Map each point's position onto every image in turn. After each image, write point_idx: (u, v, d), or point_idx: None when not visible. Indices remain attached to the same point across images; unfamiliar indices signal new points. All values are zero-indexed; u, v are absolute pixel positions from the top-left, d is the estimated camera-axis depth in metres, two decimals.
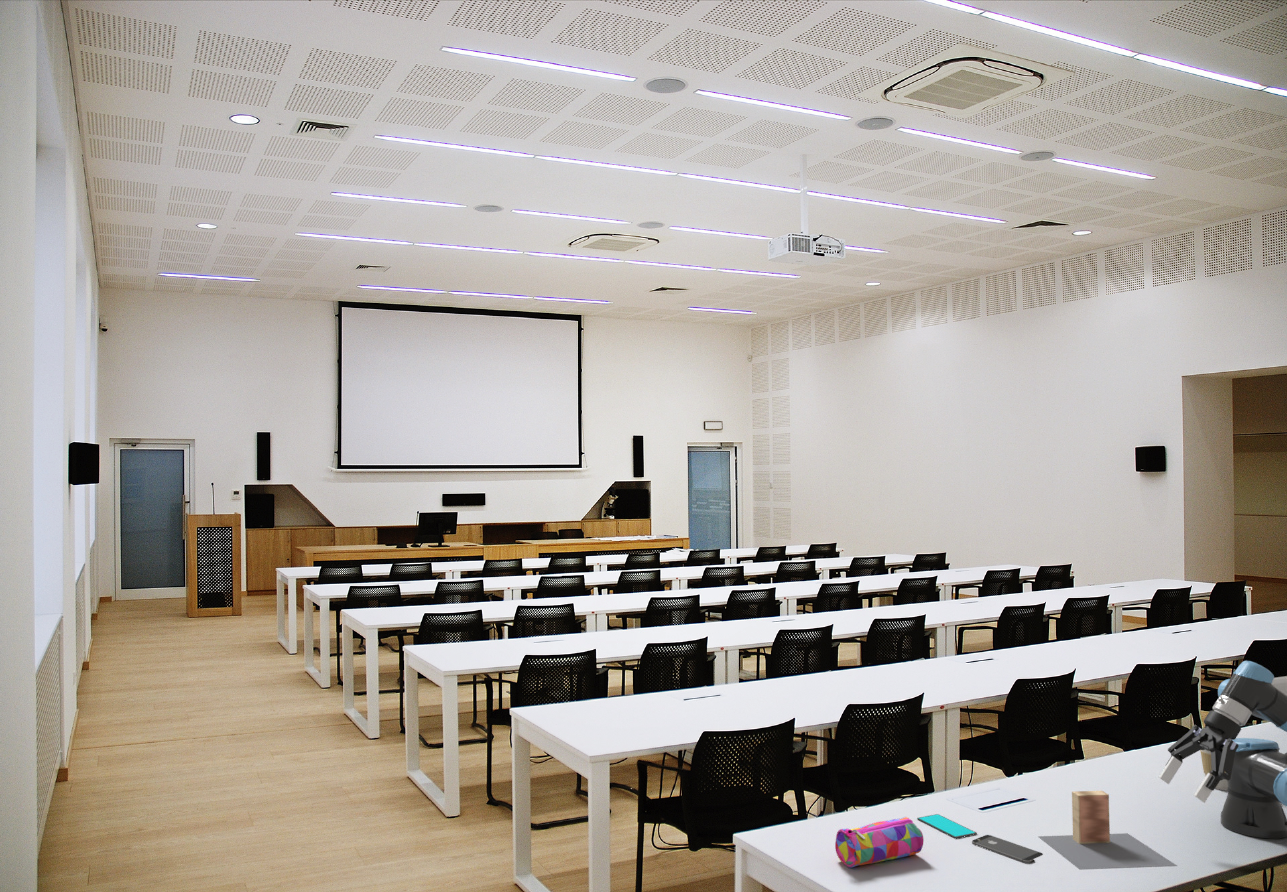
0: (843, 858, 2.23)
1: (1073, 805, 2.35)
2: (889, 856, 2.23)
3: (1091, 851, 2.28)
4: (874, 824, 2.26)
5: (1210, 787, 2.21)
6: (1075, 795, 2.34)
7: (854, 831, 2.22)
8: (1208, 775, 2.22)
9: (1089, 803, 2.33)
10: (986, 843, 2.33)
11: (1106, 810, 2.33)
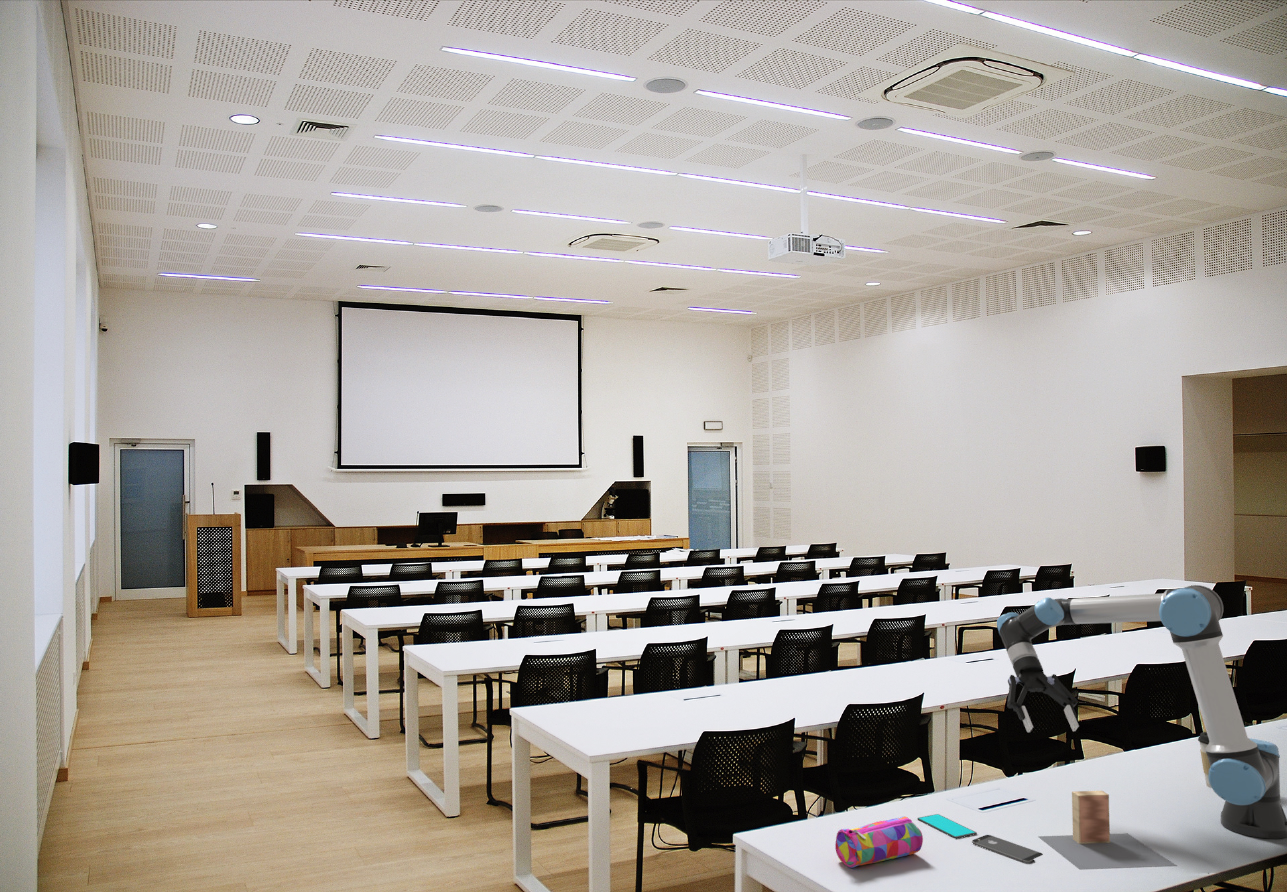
0: (843, 858, 2.23)
1: (1073, 805, 2.35)
2: (889, 856, 2.23)
3: (1091, 851, 2.28)
4: (874, 824, 2.26)
5: (1020, 718, 2.55)
6: (1075, 795, 2.34)
7: (854, 831, 2.22)
8: None
9: (1089, 803, 2.33)
10: (986, 843, 2.33)
11: (1106, 810, 2.33)
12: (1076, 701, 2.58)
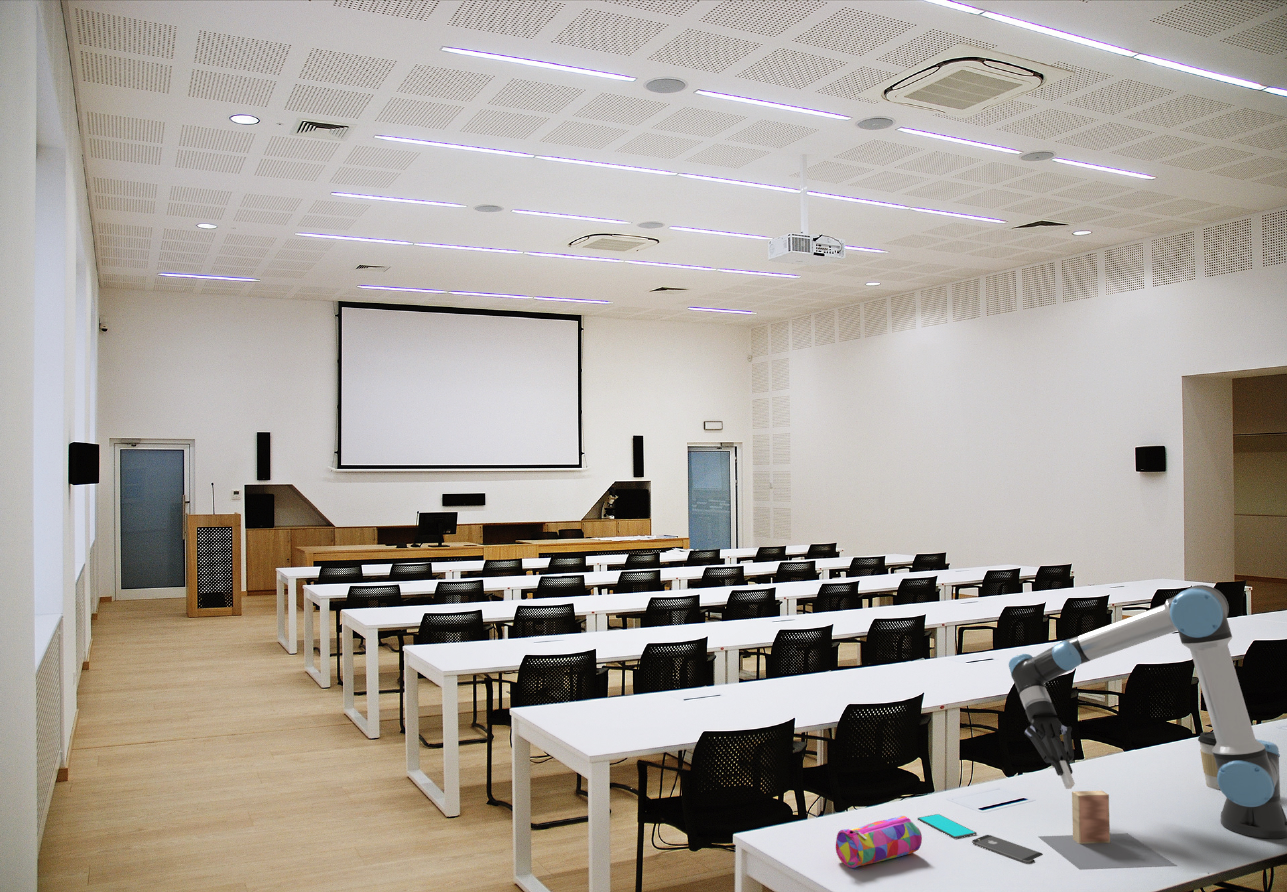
0: (844, 859, 2.22)
1: (1073, 805, 2.35)
2: (889, 856, 2.23)
3: (1091, 851, 2.28)
4: (874, 824, 2.26)
5: (1058, 773, 2.46)
6: (1075, 795, 2.34)
7: (855, 831, 2.21)
8: None
9: (1089, 803, 2.33)
10: (986, 843, 2.33)
11: (1106, 810, 2.33)
12: (1072, 756, 2.48)
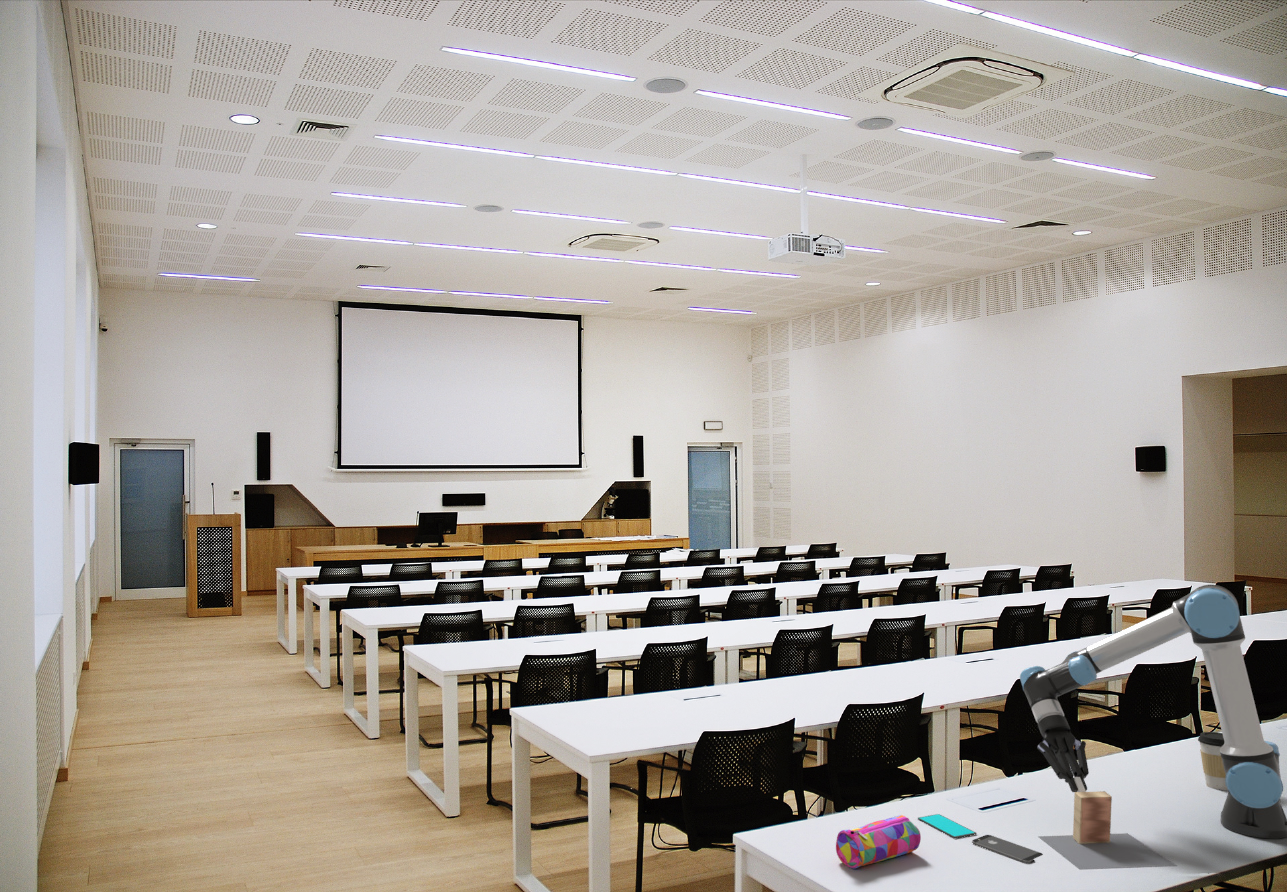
0: (845, 859, 2.22)
1: (1075, 805, 2.34)
2: (889, 855, 2.23)
3: (1091, 851, 2.28)
4: (873, 824, 2.27)
5: (1072, 790, 2.39)
6: (1077, 796, 2.33)
7: (856, 832, 2.21)
8: None
9: (1091, 805, 2.32)
10: (986, 843, 2.33)
11: (1108, 812, 2.32)
12: (1086, 772, 2.41)
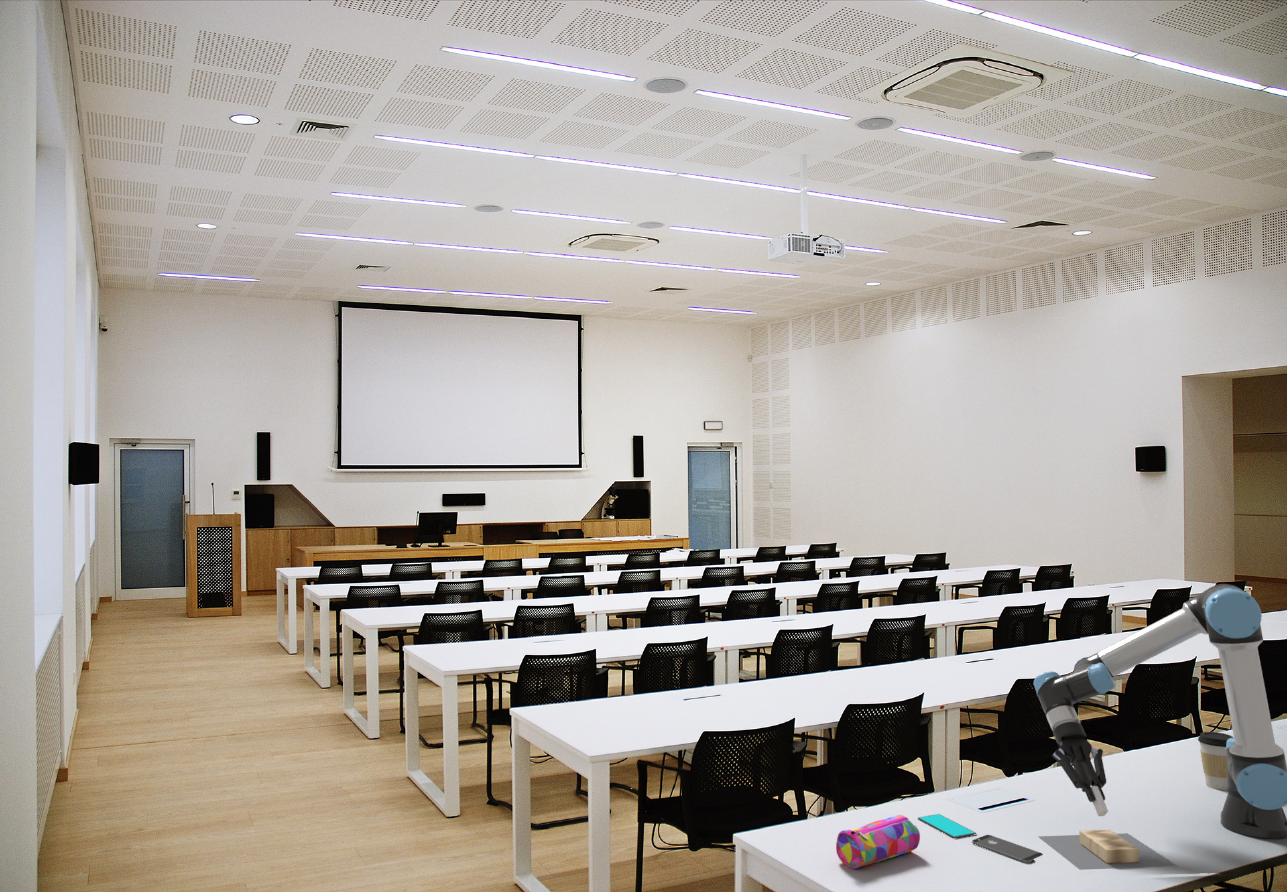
0: (845, 860, 2.22)
1: (1098, 846, 2.24)
2: (889, 855, 2.24)
3: None
4: (873, 824, 2.27)
5: (1089, 800, 2.32)
6: (1105, 855, 2.21)
7: (857, 832, 2.21)
8: None
9: None
10: (986, 843, 2.33)
11: None
12: (1104, 781, 2.34)
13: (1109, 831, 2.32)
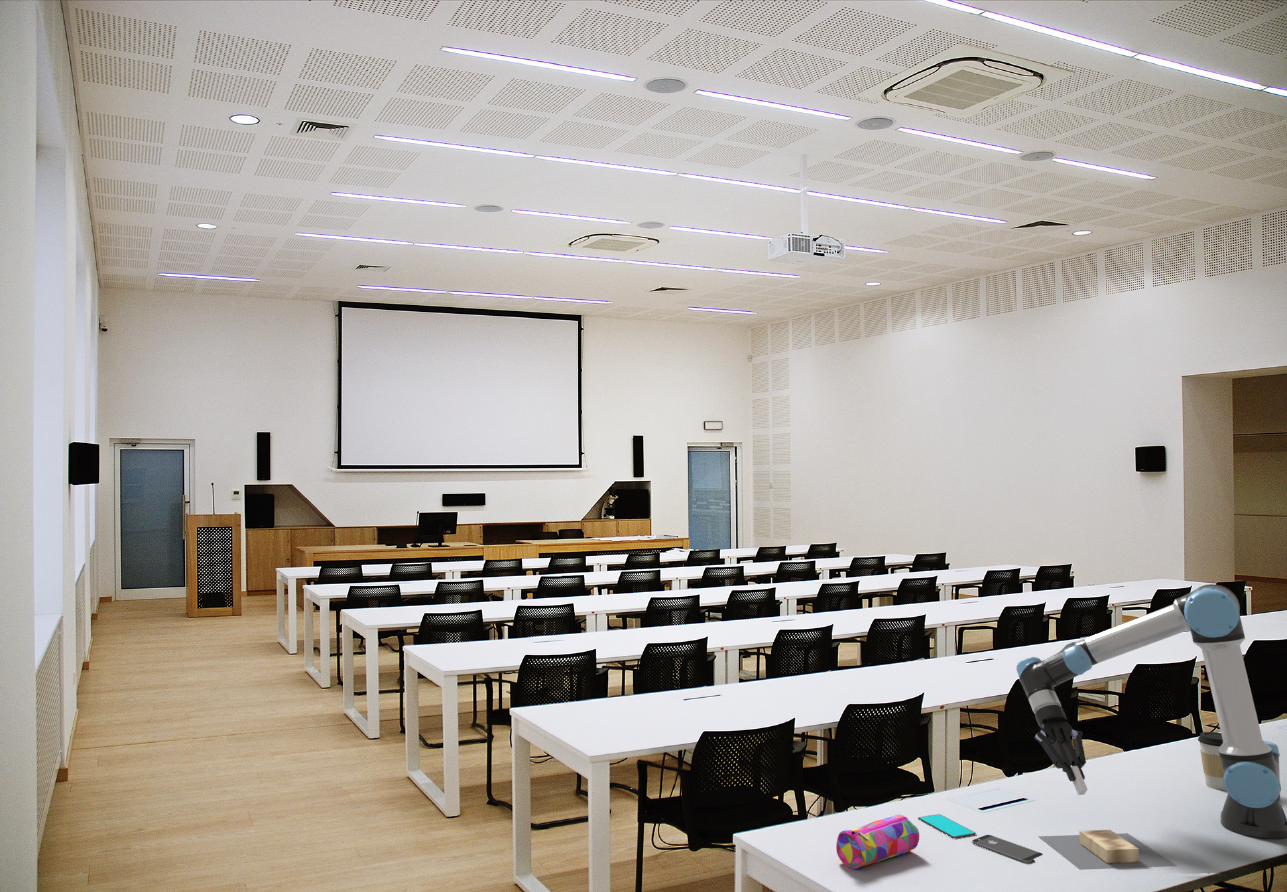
0: (846, 860, 2.22)
1: (1098, 846, 2.24)
2: (889, 855, 2.24)
3: None
4: (873, 823, 2.27)
5: (1070, 779, 2.41)
6: (1105, 855, 2.21)
7: (857, 832, 2.21)
8: None
9: None
10: (986, 843, 2.33)
11: None
12: (1083, 762, 2.43)
13: (1109, 831, 2.32)
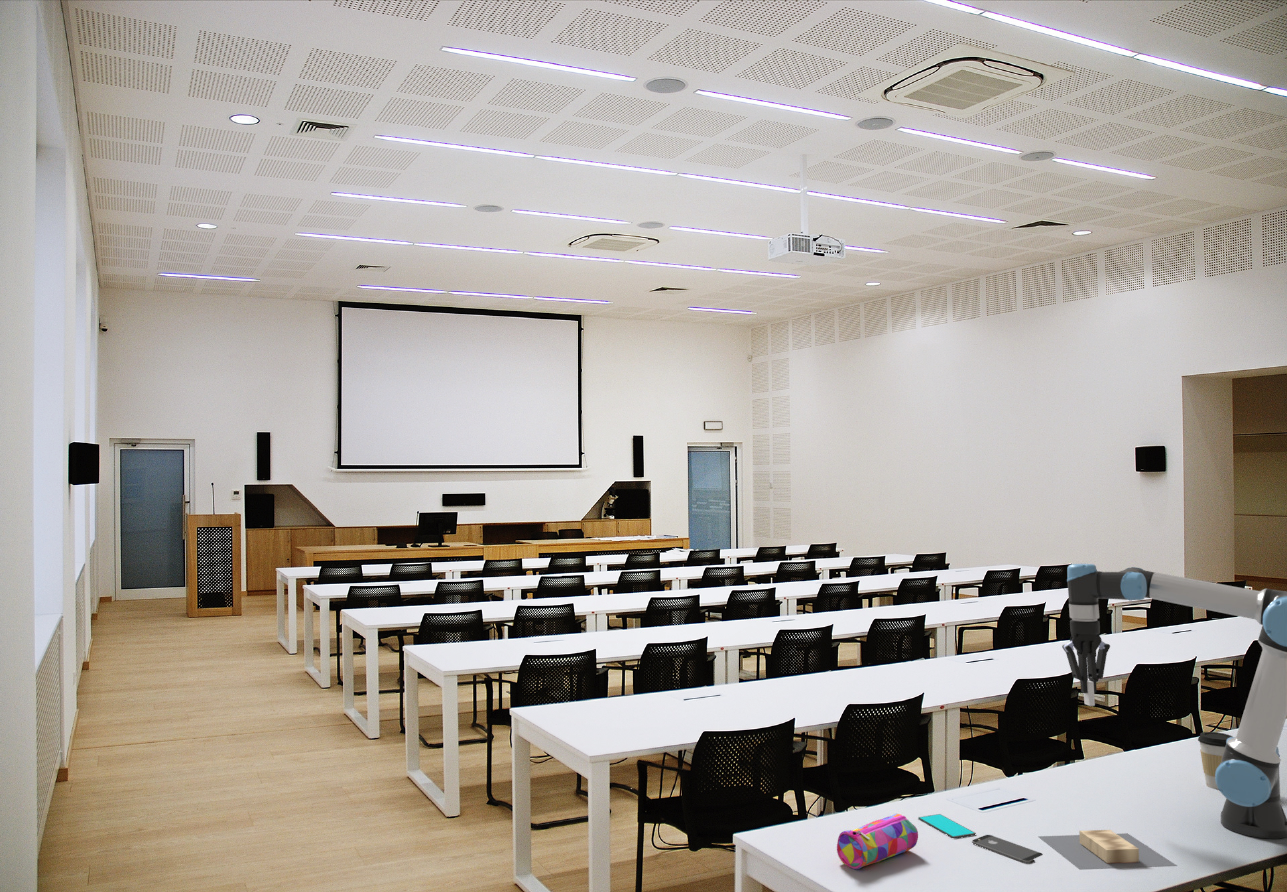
0: (847, 860, 2.21)
1: (1098, 846, 2.24)
2: (889, 855, 2.24)
3: None
4: (873, 823, 2.27)
5: (1082, 691, 2.58)
6: (1105, 855, 2.21)
7: (858, 832, 2.21)
8: None
9: None
10: (986, 843, 2.33)
11: None
12: (1100, 677, 2.57)
13: (1109, 831, 2.32)
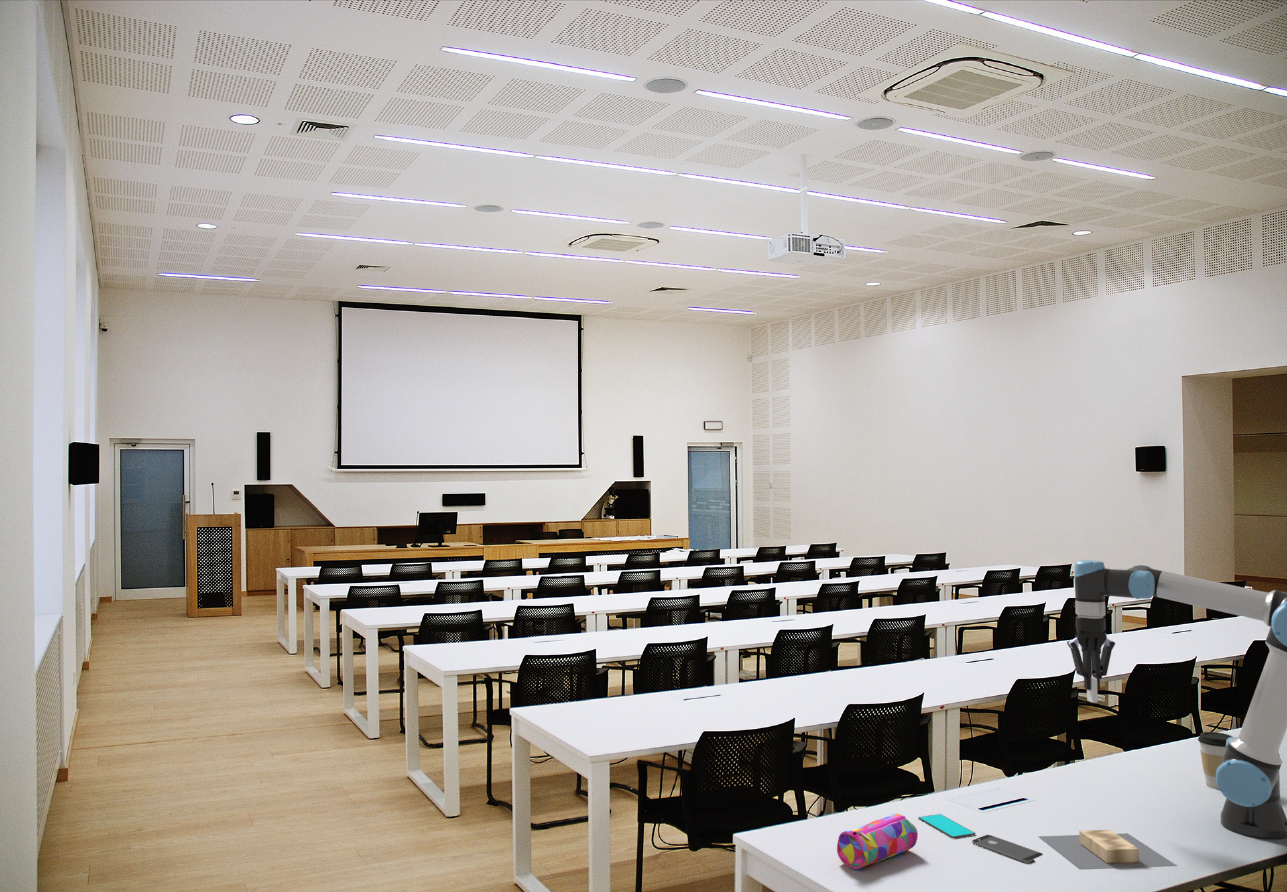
0: (847, 860, 2.21)
1: (1098, 846, 2.24)
2: (889, 854, 2.24)
3: None
4: (872, 823, 2.27)
5: (1085, 687, 2.57)
6: (1105, 855, 2.21)
7: (858, 832, 2.21)
8: None
9: None
10: (986, 843, 2.33)
11: None
12: (1104, 674, 2.56)
13: (1109, 831, 2.32)
